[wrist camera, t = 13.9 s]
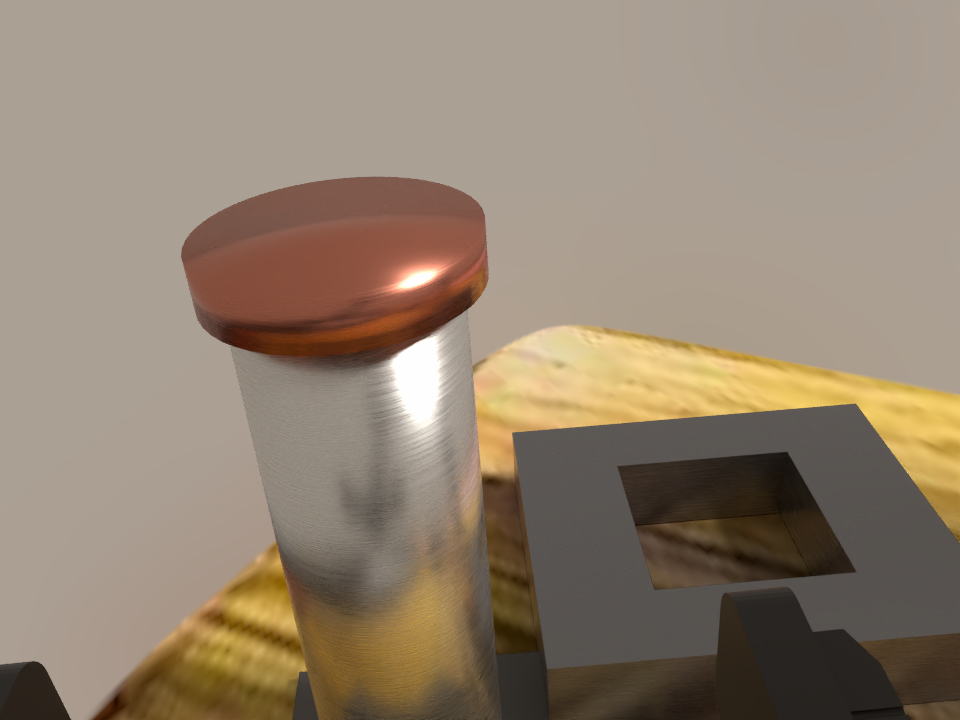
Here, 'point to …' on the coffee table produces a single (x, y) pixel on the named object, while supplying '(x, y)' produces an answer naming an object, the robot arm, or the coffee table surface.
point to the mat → (516, 689)
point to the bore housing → (696, 610)
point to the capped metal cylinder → (365, 430)
